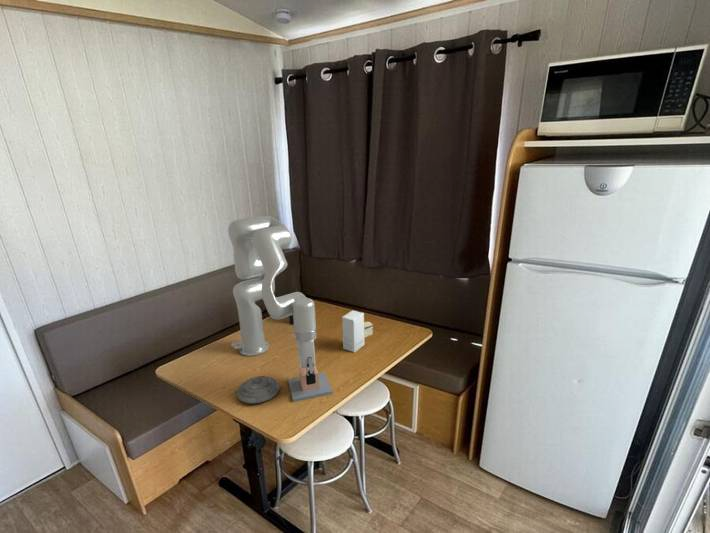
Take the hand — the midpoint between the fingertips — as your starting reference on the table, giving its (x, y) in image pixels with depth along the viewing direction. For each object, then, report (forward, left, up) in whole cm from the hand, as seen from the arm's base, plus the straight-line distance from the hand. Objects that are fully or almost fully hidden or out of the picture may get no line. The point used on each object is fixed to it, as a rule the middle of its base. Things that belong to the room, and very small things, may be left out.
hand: (308, 376), depth 135 cm
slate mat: (0, 0, -5) cm, 5 cm away
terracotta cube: (0, 0, -4) cm, 4 cm away
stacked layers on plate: (+32, +33, -5) cm, 46 cm away
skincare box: (+24, +23, -5) cm, 34 cm away
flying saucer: (-18, +3, -5) cm, 19 cm away
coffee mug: (+5, +60, -5) cm, 60 cm away
